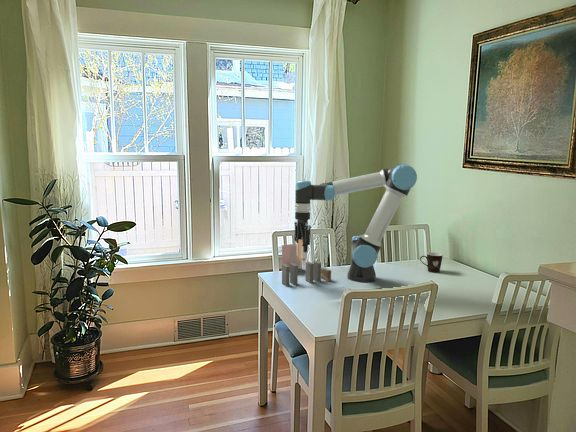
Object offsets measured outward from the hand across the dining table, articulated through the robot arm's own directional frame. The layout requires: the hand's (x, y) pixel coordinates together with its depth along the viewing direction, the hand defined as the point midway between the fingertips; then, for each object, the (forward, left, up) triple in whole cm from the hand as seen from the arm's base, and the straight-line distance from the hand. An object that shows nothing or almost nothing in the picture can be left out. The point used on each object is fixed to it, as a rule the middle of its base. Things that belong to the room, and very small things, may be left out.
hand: (301, 256), depth 221 cm
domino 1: (+9, 0, -14) cm, 16 cm away
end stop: (-15, 0, -14) cm, 20 cm away
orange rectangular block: (0, 0, -1) cm, 1 cm away
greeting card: (-6, -21, -14) cm, 26 cm away
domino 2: (+4, 0, -14) cm, 14 cm away
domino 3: (-5, 0, -14) cm, 14 cm away
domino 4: (-9, 0, -14) cm, 16 cm away
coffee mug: (-80, +8, -14) cm, 81 cm away
